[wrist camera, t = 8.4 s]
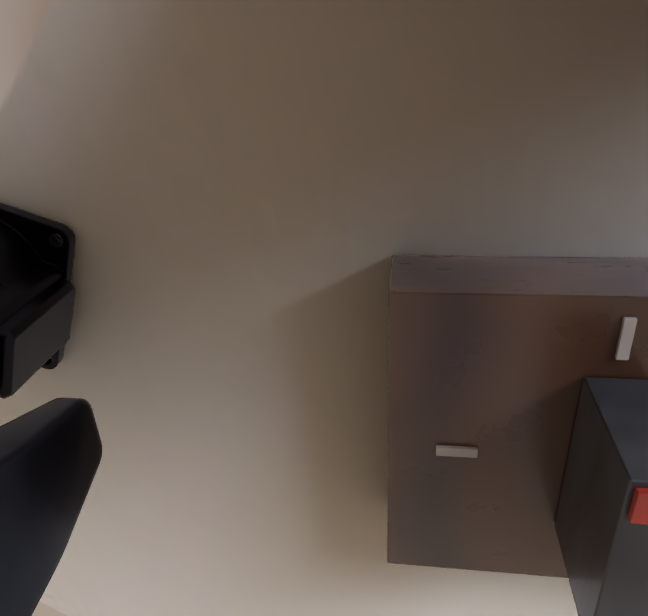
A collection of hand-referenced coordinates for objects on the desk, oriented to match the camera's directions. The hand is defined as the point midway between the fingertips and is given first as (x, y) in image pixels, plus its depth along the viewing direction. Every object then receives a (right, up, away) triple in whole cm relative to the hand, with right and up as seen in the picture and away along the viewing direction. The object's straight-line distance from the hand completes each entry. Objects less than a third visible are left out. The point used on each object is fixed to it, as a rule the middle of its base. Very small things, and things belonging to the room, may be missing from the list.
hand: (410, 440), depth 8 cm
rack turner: (+8, -3, +12) cm, 15 cm away
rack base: (+8, -2, +15) cm, 17 cm away
